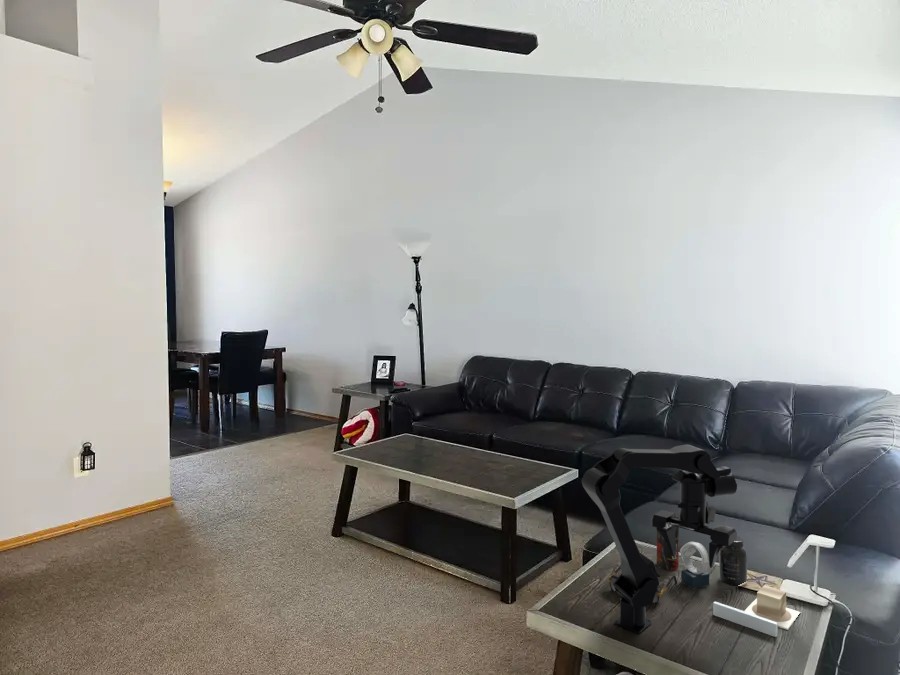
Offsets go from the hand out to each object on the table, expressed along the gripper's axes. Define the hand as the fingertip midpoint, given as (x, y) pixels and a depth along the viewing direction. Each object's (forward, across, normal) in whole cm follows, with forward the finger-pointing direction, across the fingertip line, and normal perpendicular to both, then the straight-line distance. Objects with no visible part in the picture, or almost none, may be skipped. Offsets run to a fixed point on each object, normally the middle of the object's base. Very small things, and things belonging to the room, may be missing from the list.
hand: (692, 561), depth 145 cm
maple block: (+12, -14, -13) cm, 23 cm away
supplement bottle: (+13, -1, -24) cm, 27 cm away
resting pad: (+13, -14, -13) cm, 23 cm away
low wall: (+13, -11, -4) cm, 17 cm away
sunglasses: (+14, +15, -4) cm, 21 cm away
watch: (+13, +6, -16) cm, 22 cm away
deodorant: (+13, +16, -21) cm, 30 cm away
